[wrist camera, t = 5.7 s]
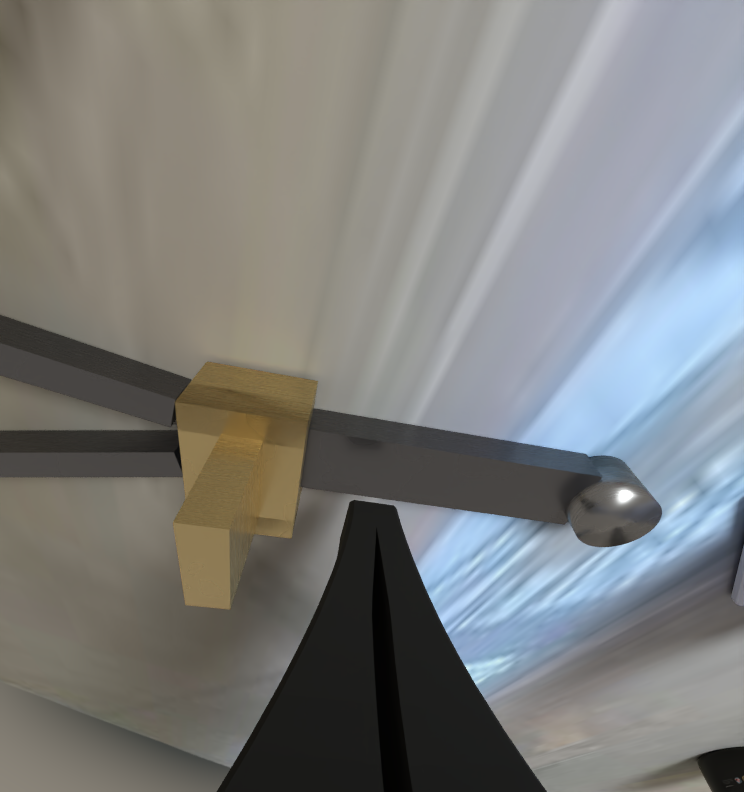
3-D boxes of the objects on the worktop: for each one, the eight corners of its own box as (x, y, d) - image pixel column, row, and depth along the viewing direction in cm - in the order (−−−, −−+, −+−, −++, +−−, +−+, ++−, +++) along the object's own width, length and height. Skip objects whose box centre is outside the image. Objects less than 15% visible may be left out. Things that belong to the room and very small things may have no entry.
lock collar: (317, 381, 12) (286, 510, 8) (301, 489, 15) (272, 628, 11) (207, 361, 12) (106, 487, 7) (212, 477, 15) (143, 616, 10)
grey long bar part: (698, 399, 13) (748, 436, 11) (567, 550, 18) (588, 591, 16) (-302, 204, 9) (-447, 215, 8) (-115, 459, 14) (-179, 499, 13)
